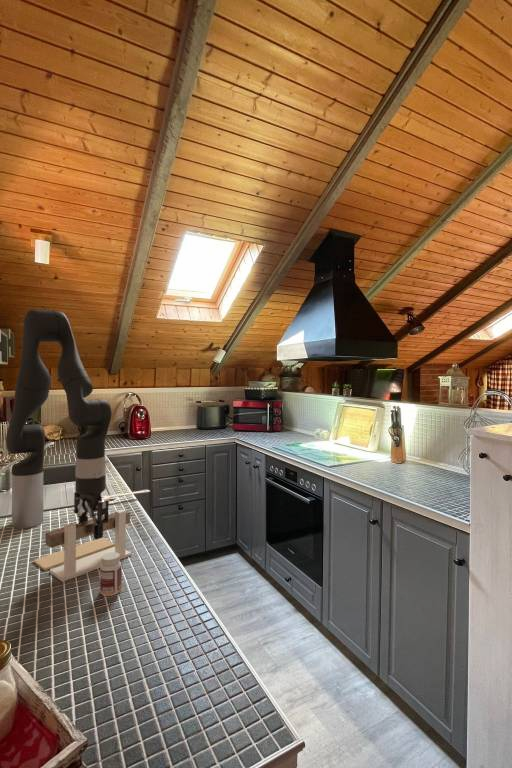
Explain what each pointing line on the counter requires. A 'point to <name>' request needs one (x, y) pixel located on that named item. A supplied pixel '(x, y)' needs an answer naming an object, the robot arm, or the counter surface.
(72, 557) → the rack
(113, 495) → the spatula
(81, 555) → the tray
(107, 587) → the pill bottle
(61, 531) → the rail
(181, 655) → the counter surface
